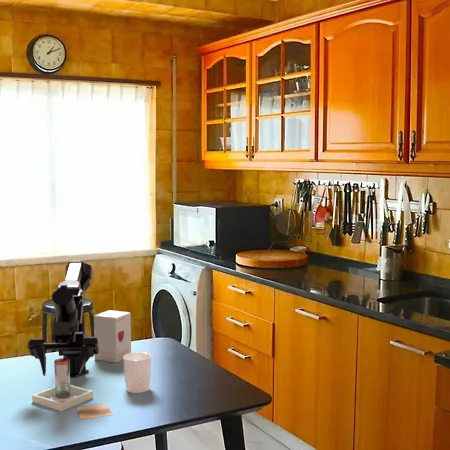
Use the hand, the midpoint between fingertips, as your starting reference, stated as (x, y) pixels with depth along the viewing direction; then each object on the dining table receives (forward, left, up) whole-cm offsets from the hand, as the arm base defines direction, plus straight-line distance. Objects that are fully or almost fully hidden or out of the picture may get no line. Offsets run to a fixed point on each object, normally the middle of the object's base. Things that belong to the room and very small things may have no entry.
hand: (61, 374), depth 177 cm
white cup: (+10, +19, -8) cm, 23 cm away
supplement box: (-17, +37, -8) cm, 42 cm away
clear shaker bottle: (-1, +1, -8) cm, 8 cm away
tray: (-1, +1, -8) cm, 8 cm away
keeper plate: (+12, 0, -8) cm, 15 cm away
